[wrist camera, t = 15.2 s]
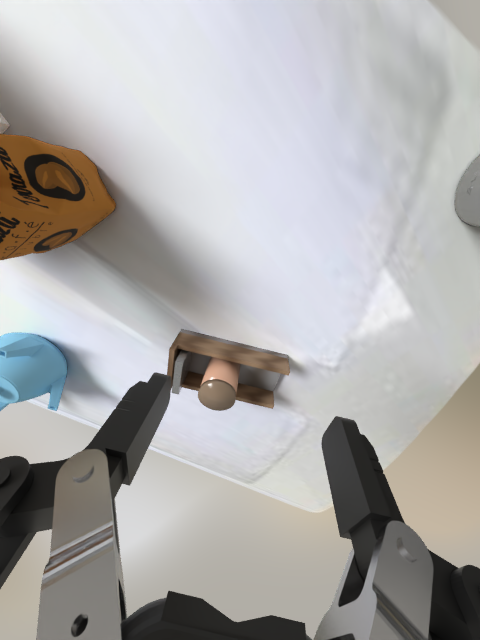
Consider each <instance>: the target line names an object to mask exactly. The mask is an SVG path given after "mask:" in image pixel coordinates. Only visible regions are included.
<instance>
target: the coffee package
mask: <svg viewBox="0 0 480 640" xmlns="http://www.w3.org/2000/svg"><path fill="white" fill-rule="evenodd" d="M115 207H116V203H115V201H114V200H113V199H112V198H111V197H110V195H109V194H108V192H107V190H106V187H105V186H104V184H103V182H102V180H101V179H100V176H99V174H98V171H97V167H96V166H95V165H94V164H93V163H92V162H91V161H90V160H89V159H88V157H87V156H85V155H84V154H83V153H82V152H81V151H79V150H73V149H69V148H65V147H61V146H56V145H51V144H48V143H45V142H43V141H39V140H36V139H33V138H31V137H27V136H19V135H6V134H0V260H4V259H9V258H14V257H19V256H24V255H27V254H30V253H44V252H47V251H50V250H52V249H55V248H57V247H60V246H62V245H65V244H67V243H69V242H72V241H74V240H76V239H78V238H79V237H80V236H82V235H83V234H85V233H86V232H87V231H89V230H90V229H91V228H93V227H94V226H95V225H97V224H98V223H99V222H101V221H102V220H103V219H104V218H106V217H107V216H108V215H109V214H111V213H112V212H113V211H114V209H115Z"/></svg>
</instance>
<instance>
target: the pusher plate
mask: <svg viewBox="0 0 480 640" xmlns="http://www.w3.org/2000/svg"><path fill="white" fill-rule="evenodd" d="M191 353H192V352H190V351H186V350H181V352H180V354H179V356H178V357H177V359H176V361H175V369H174V378H173V387H172V393H175V394H179V392H180V390H181V388H182V385H183V383H184V380H185V378H186V376H187V373H188V371H189V366H190V359H191Z"/></svg>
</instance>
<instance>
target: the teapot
mask: <svg viewBox="0 0 480 640" xmlns="http://www.w3.org/2000/svg"><path fill="white" fill-rule="evenodd" d="M66 375H67V362H66V359H65V357H64V355H63V354H62V352H61V351H60V350H59V349H58V348H57V347H56V346H55V345H54V344H52V343H51V342H49V341H48V340H46V339H44V338H42V337H40V336H37V335H34V334H28V333H8V334H4V335H2V336H0V411H1V410H2V409H3V408H5V407H6V406H7V405H8V404H10V403H17V402H22V401H25V400H29V399H32V398H35V397H38V396H41V395H43V394H46V393H48V392H49V393H50V400H49V405H48V409H51V410H55V411H57V409H58V406H59V402H60V398H61V394H62V391H63V387H64V383H65V379H66Z"/></svg>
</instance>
